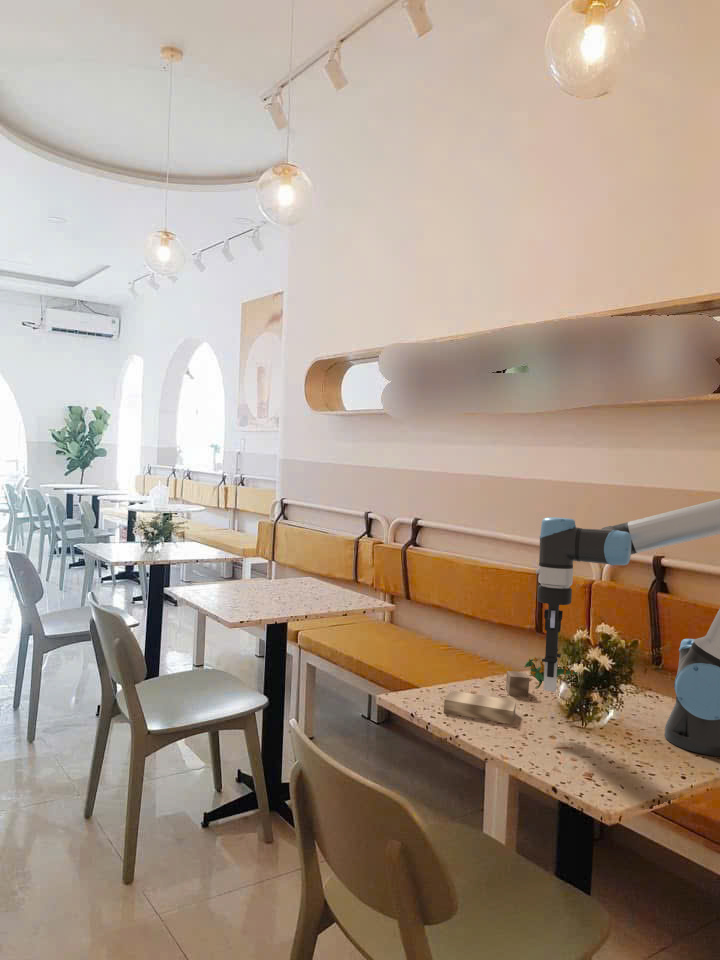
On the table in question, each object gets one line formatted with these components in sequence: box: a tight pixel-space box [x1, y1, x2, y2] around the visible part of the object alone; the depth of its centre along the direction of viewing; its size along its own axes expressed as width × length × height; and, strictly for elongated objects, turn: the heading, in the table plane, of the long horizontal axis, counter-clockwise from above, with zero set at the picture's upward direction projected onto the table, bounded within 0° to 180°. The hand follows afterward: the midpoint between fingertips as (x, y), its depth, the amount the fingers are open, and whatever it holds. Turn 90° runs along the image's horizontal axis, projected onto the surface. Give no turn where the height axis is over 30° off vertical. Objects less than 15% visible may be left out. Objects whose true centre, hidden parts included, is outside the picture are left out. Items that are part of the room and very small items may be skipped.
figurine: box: [524, 657, 579, 690], centre depth 161 cm, size 3×12×8 cm, turn 66°
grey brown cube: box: [505, 670, 530, 697], centre depth 187 cm, size 5×5×5 cm
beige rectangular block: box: [443, 689, 517, 725], centre depth 169 cm, size 16×8×3 cm, turn 73°
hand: (549, 688), depth 161 cm, fingers closed on figurine, 3 cm apart
